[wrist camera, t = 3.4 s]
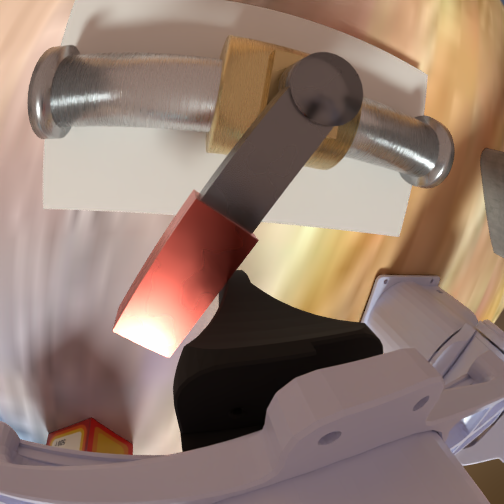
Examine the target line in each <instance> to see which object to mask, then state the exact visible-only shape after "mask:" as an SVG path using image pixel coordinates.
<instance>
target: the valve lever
mask: <svg viewBox="0 0 504 504" xmlns="http://www.w3.org/2000/svg"><path fill="white" fill-rule="evenodd" d="M362 101H363V87H362V83H361V80H360V78H359V75H358V74H357V72H356V70H355V69H354V68H353V66H352V65H351V64H350V63H349V62H348V61H346V60H345V59H344V58H342V57H340V56H338V55H336V54H333V53H329V52H317V53H313V54H310V55H308V56H306V57H304V58H303V59H301V60H299V61H297V62H295V63H294V64H292V65H290V66H289V67H288V68H287V69H286V70H285V71H284V72H283V74H282V76H281V78H280V80H279V85H278V93H277V94H276V95H275V96H274V98H273V99H272V100H271V101H270V102H269V104H268V105H267V106H266V107H265V108H264V110H263V111H262V112H261V113H260V114H259V116H258V117H257V118H256V119H255V121H254V122H253V123H252V124H251V126H250V127H249V128H248V129H247V131H246V132H245V133H244V134H243V136H242V137H241V138H240V139H239V141H238V142H237V143H236V145H235V146H234V147H233V149H232V150H231V151H230V152H229V154H228V155H227V156H226V158H225V159H224V160H223V162H222V163H221V164H220V166H219V167H218V168H217V170H216V171H215V172H214V174H213V175H212V177H211V178H210V179H209V181H208V182H207V183H206V185H205V186H204V188H203V189H202V190H201V192H200V193H199V192H197V191H196V190H193V191H192V192H191V194H190V195H189V197H188V198H187V200H186V201H185V202H184V204H183V205H182V207H181V208H180V210H179V211H178V213H177V214H176V216H175V217H174V219H173V220H172V222H171V223H170V225H169V226H168V228H167V229H166V231H165V232H164V234H163V235H162V237H161V238H160V240H159V242H158V243H157V245H156V246H155V248H154V249H153V251H152V253H151V254H150V256H149V257H148V259H147V261H146V262H145V264H144V265H143V267H142V269H141V270H140V272H139V274H138V275H137V277H136V279H135V280H134V282H133V284H132V285H131V287H130V289H129V291H128V292H127V294H126V296H125V297H124V299H123V301H122V303H121V304H120V306H119V309H118V312H117V316H116V320H115V323H114V327H113V332H115V333H117V334H119V335H121V336H123V337H125V338H127V339H129V340H131V341H133V342H135V343H138V344H140V345H142V346H144V347H146V348H148V349H150V350H153V351H155V352H157V353H159V354H161V355H164V356H166V357H168V358H170V356H171V355H172V354H173V352H174V351H175V350H176V348H177V347H178V346H179V344H180V343H181V342H182V340H183V339H184V338H185V336H186V335H187V334H188V333H189V331H190V330H191V329H192V327H193V326H194V325H195V323H196V322H197V321H198V319H199V318H200V317H201V315H202V314H203V313H204V311H205V310H206V309H207V308H208V306H209V305H210V304H211V302H212V301H213V300H214V298H215V297H216V296H217V294H218V293H219V292H220V290H221V289H222V288H223V287H224V285H225V284H226V283H227V281H228V280H229V279H230V277H231V276H232V275H233V273H234V272H235V271H236V269H237V268H238V267H239V266H240V264H241V263H242V262H243V260H244V259H245V258H246V256H247V255H248V254H249V252H250V251H251V250H252V248H253V247H254V246H255V245H256V243H257V242H258V241H259V240H258V239H257V238H256V236H255V235H254V234H253V232H254V230H255V229H256V228H257V226H258V225H259V224H260V222H261V221H262V220H263V218H264V217H265V216H266V215H267V213H268V212H269V211H270V209H271V208H272V207H273V205H274V204H275V203H276V201H277V200H278V199H279V197H280V196H281V195H282V194H283V192H284V191H285V190H286V188H287V187H288V186H289V184H290V183H291V182H292V180H293V179H294V178H295V177H296V175H297V174H298V173H299V171H300V170H301V169H302V167H303V166H304V165H305V164H306V162H307V161H308V160H309V158H310V157H311V156H312V154H313V153H314V152H315V151H316V149H317V148H318V147H319V145H320V144H321V143H322V142H323V140H324V139H325V138H326V136H327V135H328V134H329V132H330V131H331V130H332V129H333V127H334V126H340V125H344V124H346V123H348V122H349V121H351V120H352V119H353V118H354V117H355V116H356V115H357V114H358V112H359V110H360V108H361V105H362Z"/></svg>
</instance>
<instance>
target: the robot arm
mask: <svg viewBox="0 0 504 504" xmlns="http://www.w3.org/2000/svg"><path fill="white" fill-rule="evenodd" d="M385 279H386V280H385ZM384 280H385V281H384ZM439 281H440V277H438V276H425V275H379V276H378V277H377V278H376V280H375V283H374V286H373V289H372V292H371V295H370V298H369V301H368V304H367V306H366V309H365V312H364V315H363V317H362V320H361V323H359V322H351V321H342V320H336V319H331V318H327V317H322V316H318V315H315V314H311V313H308V312H305V311H302V310H299V309H297V308H294V307H292V306H290V305H287V304H285V303H283V302H281V301H279V300H277V299H275V298H273V297H272V296H270V295H268V294H267V293H265V292H263V291H262V290H260V289H259V288H257V287H256V286H254V285H253V284H252V283H251V282H250V280H249V278H248V275H247V274H246V273H245V272H244V271H242V270H236V271H235V272H234V273H233V275H232V276H231V277H230V279H229V280H228V281H227V283H226V284H225V285H224V287H223V288H222V289H221V290H220V292H219V308H218V310H217V312H216V314H215V316H214V317H213V319H212V320H211V322H210V323H209V324H208V326H207V327H206V328H205V329H204V330H203V331H202V332H201V334H200V335H199V336H198V337H197V338H195V339H194V340H193V341H191V342H190V343H188V344H187V345H186V346H184V348H183V350H182V353H181V356H180V359H179V362H178V365H177V369H176V373H175V377H174V385H173V395H174V407H175V411H176V416H177V420H178V424H179V428H180V433H181V442H182V451H183V452H181V453H176V454H171V455H123V454H108V453H97V452H87V451H79V450H72V449H65V448H59V447H54V446H48V445H43V444H38V443H34V442H29V441H25V440H21V439H20V438H19V437H18V435H17V434H16V432H15V431H14V430H13V429H12V428H11V427H10V426H9V425H7V424H6V423H4V422H2V421H0V504H490V503H489V501H488V500H487V499H486V497H485V496H484V494H483V493H482V492H481V490H480V489H479V488H478V486H477V485H476V483H475V482H474V481H473V479H472V478H471V477H470V475H469V474H468V473H467V471H466V470H465V469H464V467H463V466H462V465H471V464H475V463H479V462H483V461H488V460H492V459H498V458H499V459H500V460H501V461H502V462H503V463H504V332H503V331H502V330H501V329H500V328H498V327H497V326H496V325H495V324H493V323H492V322H491V321H489V320H484V321H483V322H482V321H479V322H478V320H477V318H476V316H475V314H474V313H473V312H472V311H471V310H470V309H468V308H467V307H466V306H464V305H463V304H462V303H460V302H459V301H458V300H456V299H455V298H454V297H452V296H451V295H449V294H448V293H447V292H445V291H444V290H443V289H441V288H440V287H438V284H439ZM383 353H384V354H383Z"/></svg>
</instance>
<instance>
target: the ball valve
mask: <svg viewBox="0 0 504 504" xmlns="http://www.w3.org/2000/svg"><path fill="white" fill-rule="evenodd" d="M308 55H310V54H309V53H306V52H302V51H299V50H295V49H292V48H288V47H284V46H280V45H276V44H272V43H268V42H264V41H259V40H254V39H249V38H244V37H239V36H233V35H228V37H227V38H226V40H225V43H224V45H223V48H222V51H221V54H220V58H219V59H217V58H209V57H201V56H192V55H181V54H167V53H143V52H115V53H92V54H80V52H79V50H78V49H77V48H76V46H74V45H65V46H58V47H52V48H49V49H48V50H47V51H46V52H45V53H43V55H42V56H41V57H40V59H39V60H38V62H37V64H36V66H35V68H34V71H33V74H32V77H31V81H30V85H29V91H28V115H29V120H30V124H31V127H32V129H33V131H34V133H35V134H36V135H37V136H38V137H39V138H41V139H59V138H63V137H65V136H66V135H67V134H68V132H69V131H70V129H71V128H72V127H97V126H102V127H142V128H160V129H174V130H186V131H197V132H206V152H207V153H215V154H224V155H228V154H229V152H230V151H231V150H232V149H233V147H234V146H235V145H236V143H237V142H238V141H239V139H240V138H241V137H242V136H243V134H244V133H245V132H246V131H247V129H248V128H249V127H250V126H251V124H252V123H253V122H254V121H255V119H256V118H257V117H258V116H259V114H260V113H261V112H262V111H263V110H264V108H265V107H266V106H267V105H268V104H269V102H270V101H271V100H272V99H273V98H274V96H275V95H276V94H277V93H278V85H279V80H280V78H281V76H282V74H283V72H284V71H285V70H286V69H287V68H288V67H289V66H290V65H292V64H294V63H295V62H297V61H299V60H301V59H303V58H304V57H306V56H308ZM343 157H346V158H350V159H354V160H358V161H362V162H366V163H369V164H373V165H376V166H380V167H383V168H387V169H390V170H394V171H397V172H399V174H400V175H401V177H402V178H403V179H404V180H405V181H406V182H407V183H409V184H411V185H414V186H417V187H420V188H426V189H428V188H433V187H435V186H437V185H439V184H440V183H441V182H442V181H443V180H444V179H445V178H446V177H447V175H448V174H449V172H450V170H451V167H452V164H453V160H454V143H453V139H452V136H451V134H450V132H449V130H448V129H447V128H446V127H445V126H444V125H443V124H442V123H440V122H438V121H437V120H435V119H433V118H431V117H429V116H417V117H415V118H413V117H411V116H409V115H407V114H405V113H403V112H400V111H398V110H396V109H394V108H391V107H389V106H387V105H384V104H382V103H380V102H377V101H375V100H372V99H370V98H367V97H364V96H363V101H362V105H361V108H360V110H359V112H358V114H357V115H356V116H355V117H354V118H353V119H352V120H351V121H349V122H348V123H346V124H344V125H340V126H334V127H333V129H332V130H331V131H330V132H329V134H328V135H327V136H326V138H325V139H324V140H323V142H322V143H321V144H320V145H319V147H318V148H317V149H316V151H315V152H314V153H313V154H312V156H311V157H310V158H309V160H308V161H307V162H306V164H305V165H304V167H309V168H314V169H320V170H328V169H330V168H332V167H334V166H335V165H337V164H338V163H339V162H340V161H341V160H342V159H343Z"/></svg>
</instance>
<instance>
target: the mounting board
mask: <svg viewBox="0 0 504 504" xmlns="http://www.w3.org/2000/svg"><path fill="white" fill-rule="evenodd" d="M228 35H233V36H239V37H244V38H249V39H254V40H259V41H264V42H268V43H272V44H276V45H280V46H284V47H288V48H292V49H295V50H299V51H302V52H306V53H309V54H313V53H317V52H329V53H333V54H336V55H338V56H340V57H342V58H344V59H345V60H346V61H348V62H349V63H350V64H351V65H352V66H353V68H354V69H355V70H356V72H357V74H358V75H359V78H360V80H361V83H362V87H363V96H364V97H367V98H370V99H372V100H375V101H377V102H380V103H382V104H384V105H387V106H389V107H391V108H394V109H396V110H398V111H400V112H403V113H405V114H407V115H409V116H411V117H413V118H415V117H417V116H424V109H425V100H426V89H427V76H428V75H427V74H425V73H424V72H422V71H420V70H419V69H417V68H415V67H413V66H412V65H410V64H408V63H406V62H405V61H403V60H401V59H399V58H397V57H395V56H393V55H391V54H390V53H388V52H386V51H384V50H382V49H379V48H377V47H375V46H373V45H371V44H369V43H367V42H364V41H362V40H360V39H358V38H355V37H353V36H351V35H348V34H346V33H343V32H341V31H338V30H336V29H333V28H330V27H327V26H325V25H322V24H319V23H316V22H313V21H310V20H307V19H304V18H301V17H297V16H294V15H290V14H287V13H283V12H280V11H276V10H272V9H268V8H263V7H259V6H254V5H250V4H244V3H239V2H233V1H227V0H75V2H74V5H73V8H72V10H71V13H70V16H69V19H68V23H67V26H66V29H65V32H64V36H63V39H62V43H61V46H65V45H74V46H76V48H77V49H78V50H79V52H80V54H92V53H115V52H143V53H167V54H181V55H192V56H201V57H209V58H217V59H219V58H220V54H221V51H222V48H223V45H224V43H225V40H226V38H227V37H228ZM226 156H227V155H224V154H215V153H207V152H206V132H197V131H186V130H174V129H160V128H142V127H102V126H97V127H72V128H71V129H70V131H69V132H68V134H67V135H66V136H65V137H63V138H59V139H45V143H44V159H43V209H65V210H91V211H113V212H133V213H150V214H166V215H176V214H177V213H178V211H179V210H180V208H181V207H182V205H183V204H184V202H185V201H186V200H187V198H188V197H189V195H190V194H191V192H192V191H193V190H196V191H197V192H199V193H200V192H201V190H202V189H203V188H204V186H205V185H206V183H207V182H208V181H209V179H210V178H211V177H212V175H213V174H214V172H215V171H216V170H217V168H218V167H219V166H220V164H221V163H222V162H223V160H224V159H225V158H226ZM411 187H412V185H411V184H409V183H407V182H406V181H405V180H404V179H403V178H402V177H401V175H400V174H399V172H397V171H394V170H390V169H387V168H383V167H380V166H376V165H373V164H369V163H366V162H362V161H358V160H354V159H350V158H346V157H343V159H342V160H341V161H340V162H339V163H338V164H337V165H335V166H334V167H332V168H330V169H328V170H320V169H314V168H309V167H304V166H303V167H302V169H301V170H300V171H299V173H298V174H297V175H296V177H295V178H294V179H293V180H292V182H291V183H290V184H289V186H288V187H287V188H286V190H285V191H284V192H283V194H282V195H281V196H280V197H279V199H278V200H277V201H276V203H275V204H274V205H273V207H272V208H271V209H270V211H269V212H268V213H267V215H266V216H265V217H264V218H263V220H262V221H261V222H268V223H279V224H289V225H300V226H309V227H319V228H328V229H337V230H346V231H355V232H364V233H372V234H380V235H388V236H396V237H399V235H400V232H401V228H402V224H403V220H404V217H405V213H406V209H407V205H408V200H409V196H410V192H411Z"/></svg>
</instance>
